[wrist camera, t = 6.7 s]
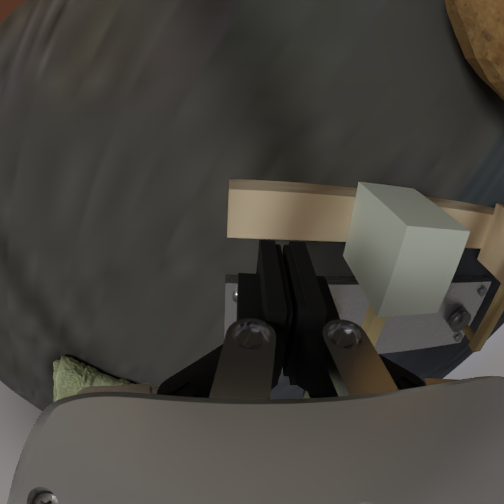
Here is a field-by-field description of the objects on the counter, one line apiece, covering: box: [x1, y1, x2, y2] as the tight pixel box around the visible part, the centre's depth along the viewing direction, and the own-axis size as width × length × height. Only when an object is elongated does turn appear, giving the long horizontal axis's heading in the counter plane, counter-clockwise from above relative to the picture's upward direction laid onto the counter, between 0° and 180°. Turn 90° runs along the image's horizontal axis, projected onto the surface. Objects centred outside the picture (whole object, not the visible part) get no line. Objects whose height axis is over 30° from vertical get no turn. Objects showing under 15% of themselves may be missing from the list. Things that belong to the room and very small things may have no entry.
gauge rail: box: [227, 179, 504, 352], centre depth 19 cm, size 25×12×8 cm, turn 86°
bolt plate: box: [224, 275, 492, 354], centre depth 25 cm, size 25×8×2 cm, turn 86°
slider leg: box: [343, 182, 470, 347], centre depth 18 cm, size 4×12×6 cm, turn 176°
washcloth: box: [53, 356, 134, 402], centre depth 30 cm, size 13×18×3 cm
